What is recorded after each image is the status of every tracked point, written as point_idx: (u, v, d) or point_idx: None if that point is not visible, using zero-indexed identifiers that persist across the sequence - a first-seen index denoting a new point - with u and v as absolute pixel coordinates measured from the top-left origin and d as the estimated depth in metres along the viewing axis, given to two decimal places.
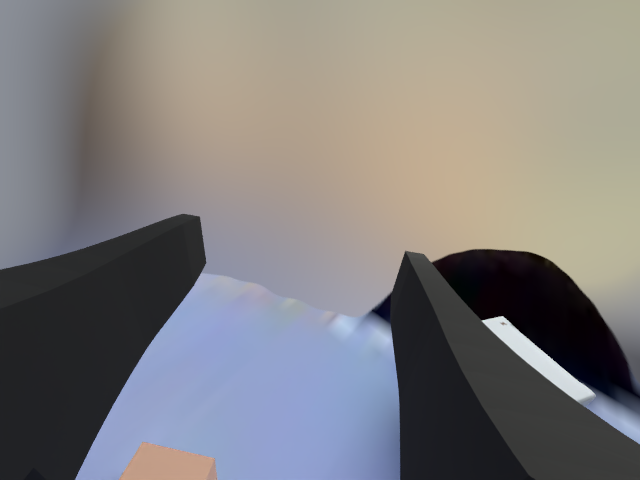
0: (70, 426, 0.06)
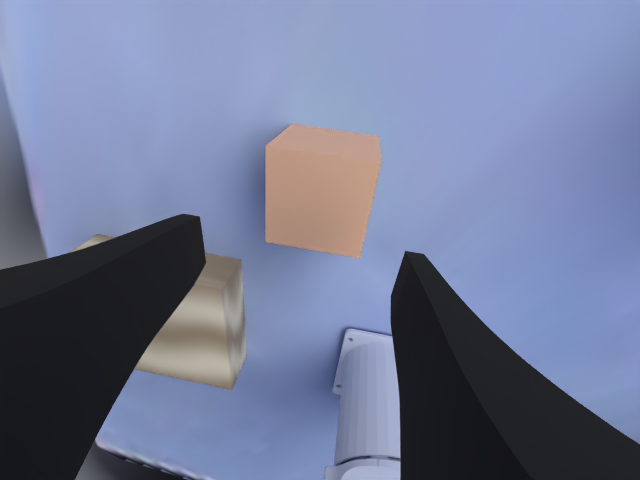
0: (70, 426, 0.06)
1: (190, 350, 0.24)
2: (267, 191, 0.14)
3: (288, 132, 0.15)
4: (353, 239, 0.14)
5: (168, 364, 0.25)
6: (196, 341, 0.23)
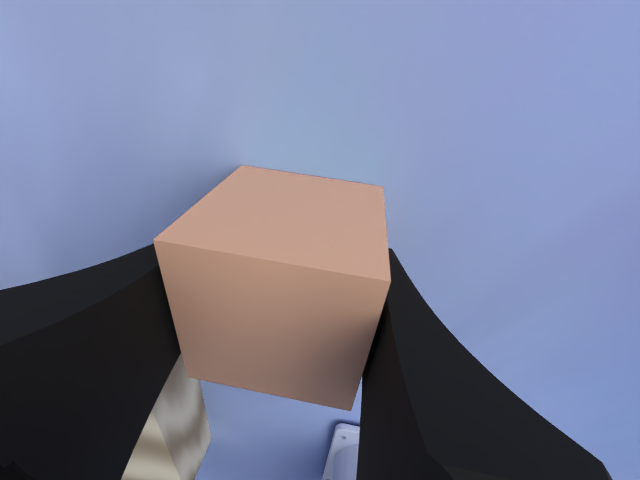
0: (114, 436, 0.06)
1: None
2: (174, 311, 0.07)
3: (224, 190, 0.08)
4: (338, 387, 0.08)
5: None
6: None
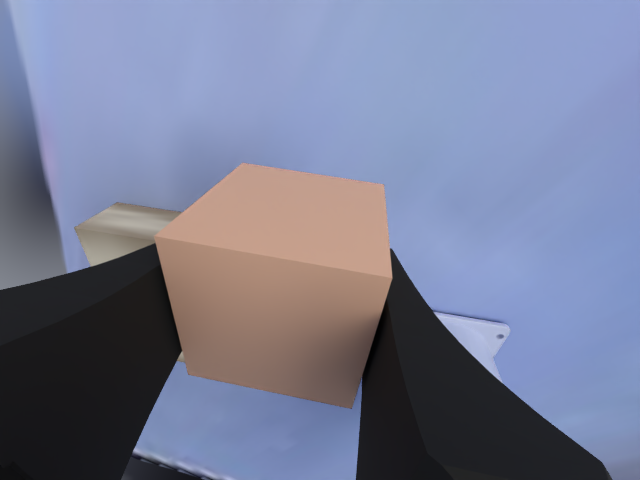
0: (114, 436, 0.06)
1: None
2: (175, 308, 0.07)
3: (225, 187, 0.08)
4: (338, 384, 0.08)
5: None
6: None
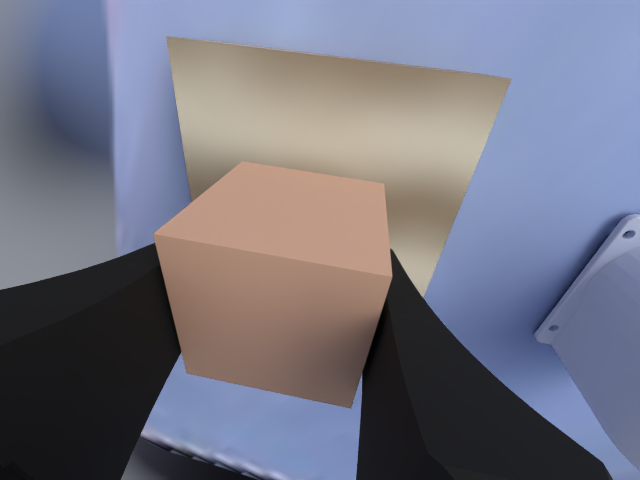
0: (114, 436, 0.06)
1: None
2: (174, 306, 0.07)
3: (224, 185, 0.08)
4: (338, 384, 0.08)
5: None
6: (392, 224, 0.13)
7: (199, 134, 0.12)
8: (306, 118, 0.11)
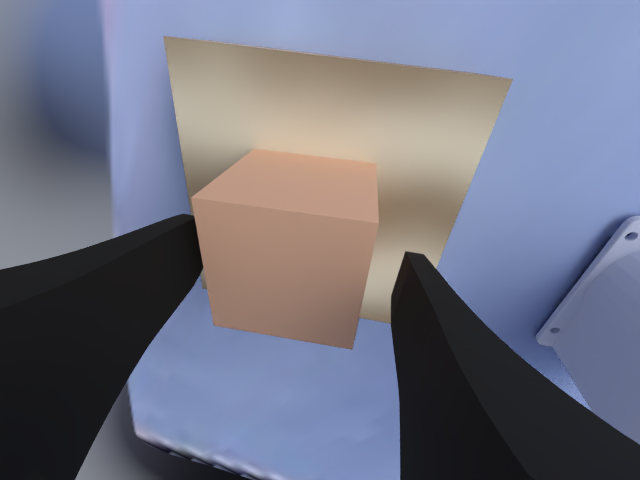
0: (70, 426, 0.06)
1: None
2: (205, 261, 0.09)
3: (241, 165, 0.10)
4: (340, 326, 0.10)
5: None
6: (391, 225, 0.13)
7: (197, 135, 0.12)
8: (306, 119, 0.11)
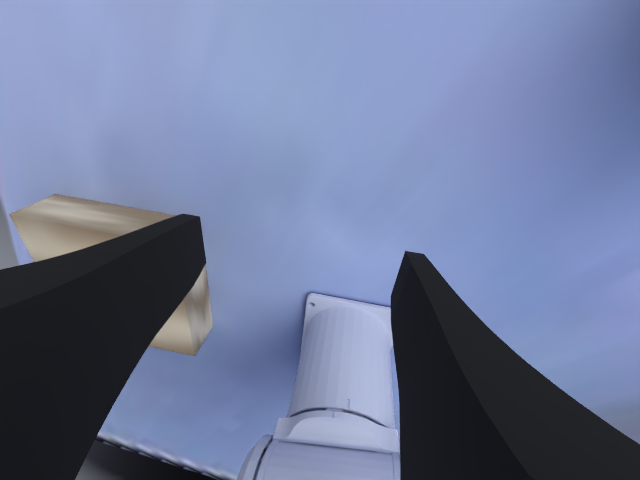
0: (70, 426, 0.06)
1: None
2: None
3: None
4: None
5: None
6: None
7: (39, 254, 0.22)
8: None
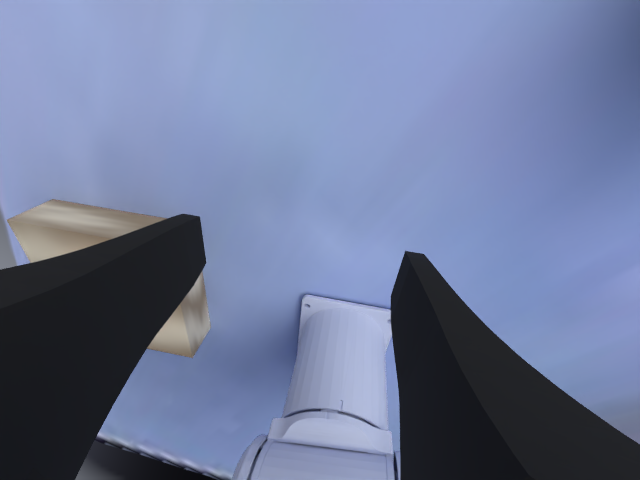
0: (70, 426, 0.06)
1: None
2: None
3: None
4: None
5: None
6: None
7: (37, 259, 0.22)
8: None
